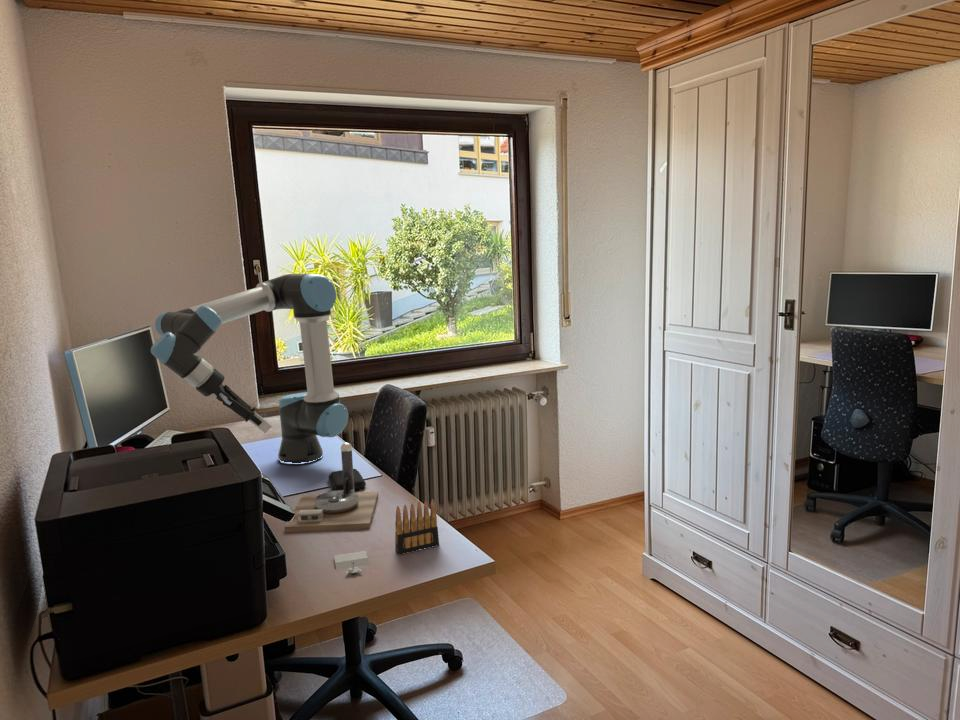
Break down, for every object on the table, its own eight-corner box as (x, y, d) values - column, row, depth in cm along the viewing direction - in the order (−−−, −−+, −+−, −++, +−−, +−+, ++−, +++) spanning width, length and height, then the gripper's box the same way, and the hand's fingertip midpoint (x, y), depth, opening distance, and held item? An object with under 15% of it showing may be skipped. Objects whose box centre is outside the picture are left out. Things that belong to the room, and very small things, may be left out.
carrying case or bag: (324, 480, 208) (332, 496, 194) (324, 471, 207) (331, 486, 194) (358, 475, 212) (367, 490, 198) (357, 466, 211) (366, 481, 198)
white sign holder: (365, 555, 157) (365, 545, 156) (372, 579, 145) (371, 569, 145) (334, 560, 154) (333, 550, 154) (338, 585, 143) (337, 574, 143)
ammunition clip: (436, 542, 161) (434, 497, 159) (439, 545, 160) (437, 499, 158) (395, 552, 157) (392, 505, 155) (397, 555, 155) (395, 508, 153)
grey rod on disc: (345, 515, 175) (342, 459, 172) (306, 511, 178) (302, 456, 175) (370, 494, 189) (367, 442, 186) (333, 491, 192) (330, 440, 190)
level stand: (303, 499, 191) (302, 487, 191) (378, 496, 192) (377, 484, 192) (285, 532, 170) (283, 519, 169) (369, 528, 171) (369, 515, 170)
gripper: (193, 381, 185) (256, 430, 196) (195, 394, 174) (261, 446, 185) (213, 362, 186) (274, 412, 197) (215, 374, 175) (280, 427, 186)
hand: (268, 429), depth 191 cm, fingers closed
